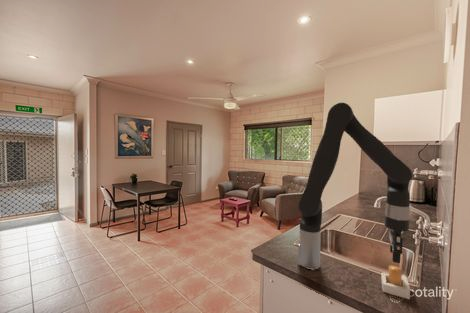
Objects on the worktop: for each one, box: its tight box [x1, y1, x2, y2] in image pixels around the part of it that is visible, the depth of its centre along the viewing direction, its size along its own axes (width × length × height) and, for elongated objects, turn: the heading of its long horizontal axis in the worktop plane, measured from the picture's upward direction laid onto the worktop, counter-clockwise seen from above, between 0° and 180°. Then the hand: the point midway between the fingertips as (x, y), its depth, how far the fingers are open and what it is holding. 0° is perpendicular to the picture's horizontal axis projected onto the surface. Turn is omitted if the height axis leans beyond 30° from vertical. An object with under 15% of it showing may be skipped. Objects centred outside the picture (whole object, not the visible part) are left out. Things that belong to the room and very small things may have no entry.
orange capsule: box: [388, 265, 403, 286], centre depth 82 cm, size 4×4×8 cm
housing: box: [380, 272, 411, 300], centre depth 82 cm, size 8×9×4 cm
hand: (394, 257), depth 82 cm, fingers open, 8 cm apart
